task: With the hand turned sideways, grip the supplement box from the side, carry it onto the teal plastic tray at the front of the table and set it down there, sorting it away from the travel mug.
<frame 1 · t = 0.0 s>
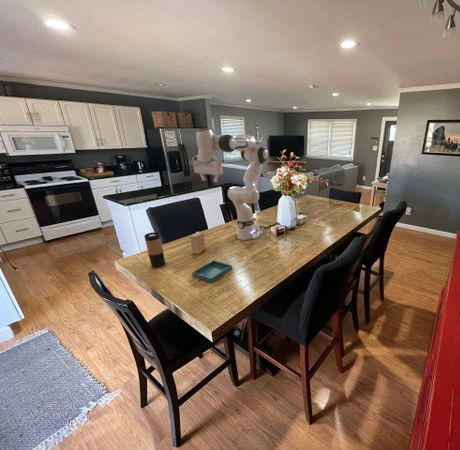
hand: (209, 181, 145), 48 cm above the table, tool pointing down, fingers open, 8 cm apart
travel mug: (158, 265, 145), on the table
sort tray: (212, 272, 137), on the table
supplement box: (199, 252, 162), on the table
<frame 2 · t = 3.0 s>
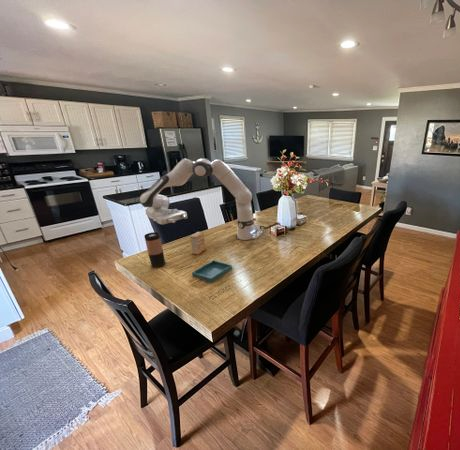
hand: (180, 219, 159), 22 cm above the table, tool horizontal, fingers open, 8 cm apart
nothing on the table moved.
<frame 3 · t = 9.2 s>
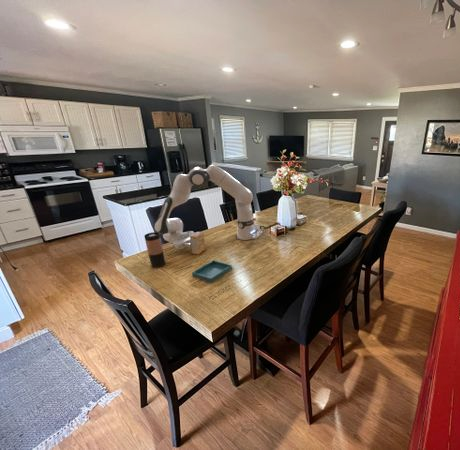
hand: (196, 242, 161), 6 cm above the table, tool horizontal, fingers open, 8 cm apart
supplement box: (199, 252, 162), on the table, touching gripper
everything else where it was.
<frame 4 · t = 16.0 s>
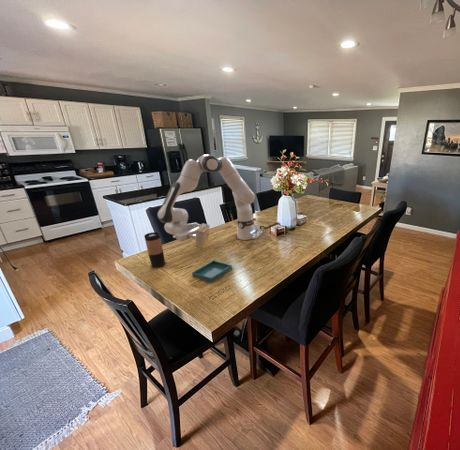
hand: (201, 234, 147), 17 cm above the table, tool horizontal, fingers closed on supplement box, 6 cm apart
supplement box: (201, 244, 149), point 10 cm above the table, touching gripper
everything else where it was.
when the fingers open (8 cm above the table, at t = 22.2 s): supplement box stays where it is, resting on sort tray.
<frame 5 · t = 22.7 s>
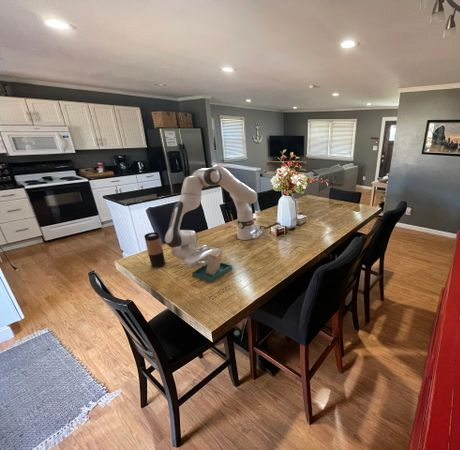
hand: (212, 260, 134), 8 cm above the table, tool horizontal, fingers open, 8 cm apart
supplement box: (212, 271, 137), point 1 cm above the table, touching gripper, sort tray
everything else where it was.
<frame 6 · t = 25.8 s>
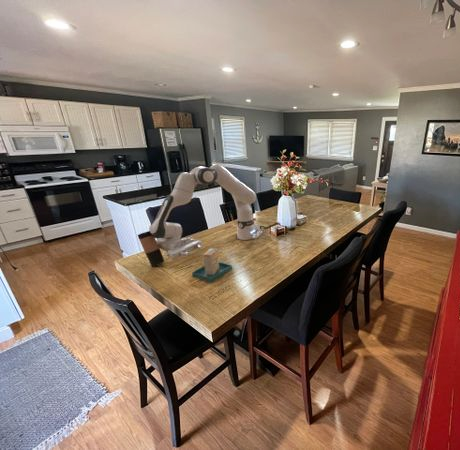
hand: (195, 251, 139), 11 cm above the table, tool horizontal, fingers open, 8 cm apart
travel mug: (158, 263, 145), point 1 cm above the table
supplement box: (212, 272, 137), resting on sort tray
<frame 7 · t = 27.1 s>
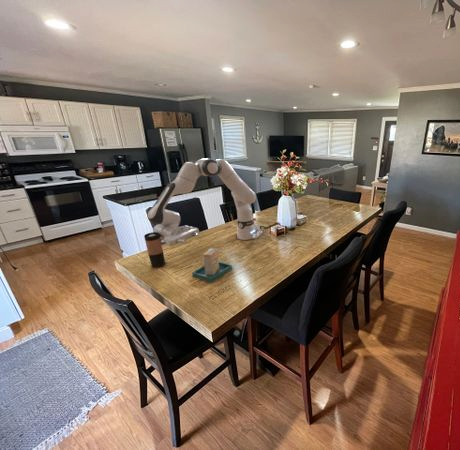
hand: (192, 238, 136), 19 cm above the table, tool horizontal, fingers open, 8 cm apart
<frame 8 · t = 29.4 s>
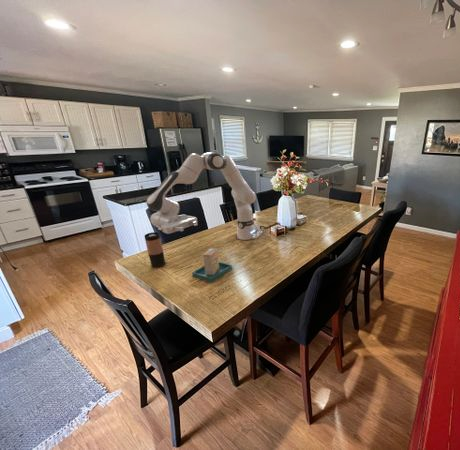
hand: (189, 226, 134), 26 cm above the table, tool horizontal, fingers open, 8 cm apart
at the end: supplement box inside the target area in the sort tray (0.1 cm from its centre), point 0.3 cm above the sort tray's base; supplement box tilted 0°; the gripper is holding nothing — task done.
